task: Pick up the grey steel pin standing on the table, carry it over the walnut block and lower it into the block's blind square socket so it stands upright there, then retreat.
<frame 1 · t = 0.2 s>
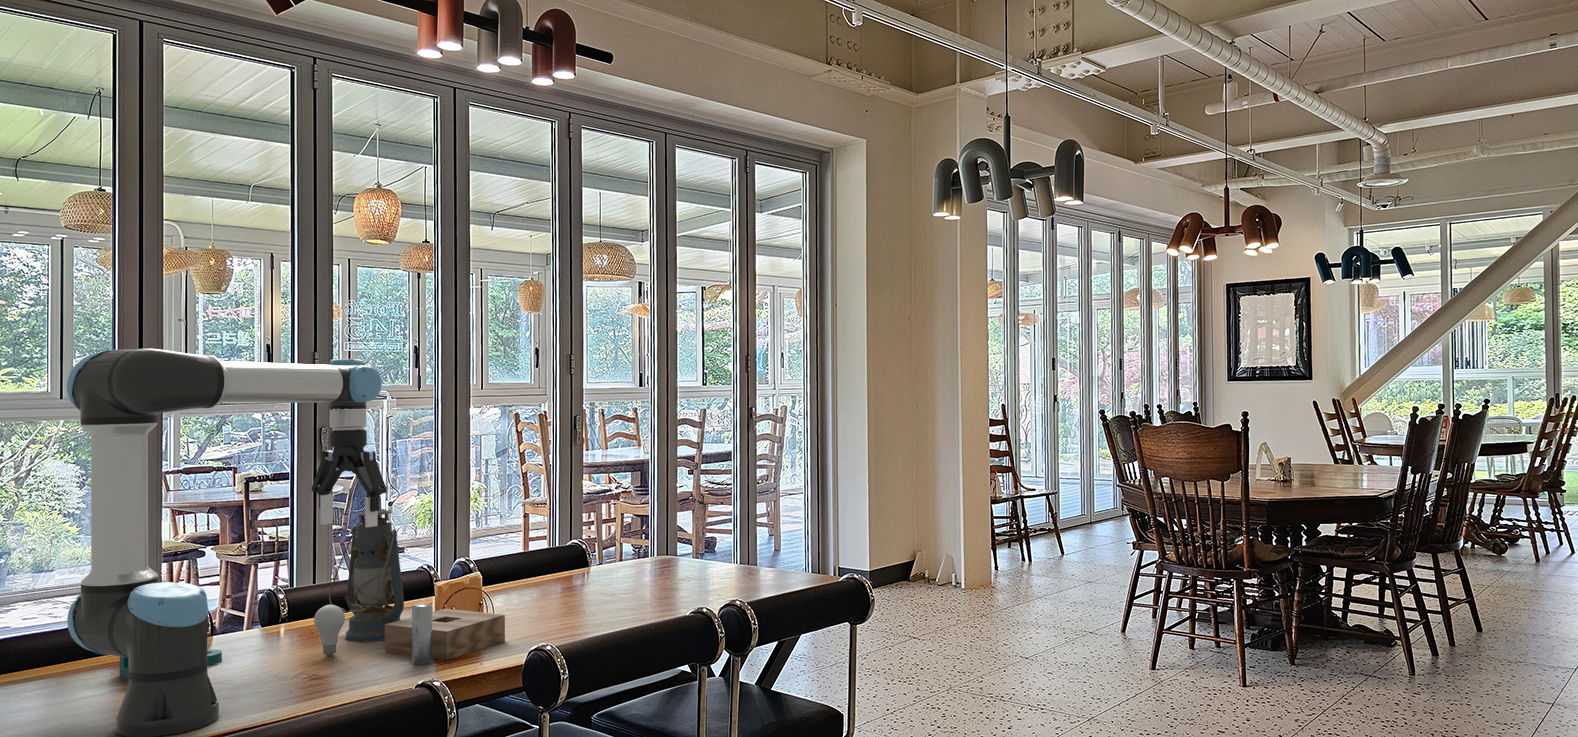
hand: (348, 525, 229), 28 cm above the table, fingers open, 13 cm apart
lantern: (372, 637, 243), on the table
bracket: (174, 670, 216), on the table
pin: (422, 663, 217), on the table
lightbulb: (329, 657, 225), on the table
walnut block: (445, 646, 232), on the table
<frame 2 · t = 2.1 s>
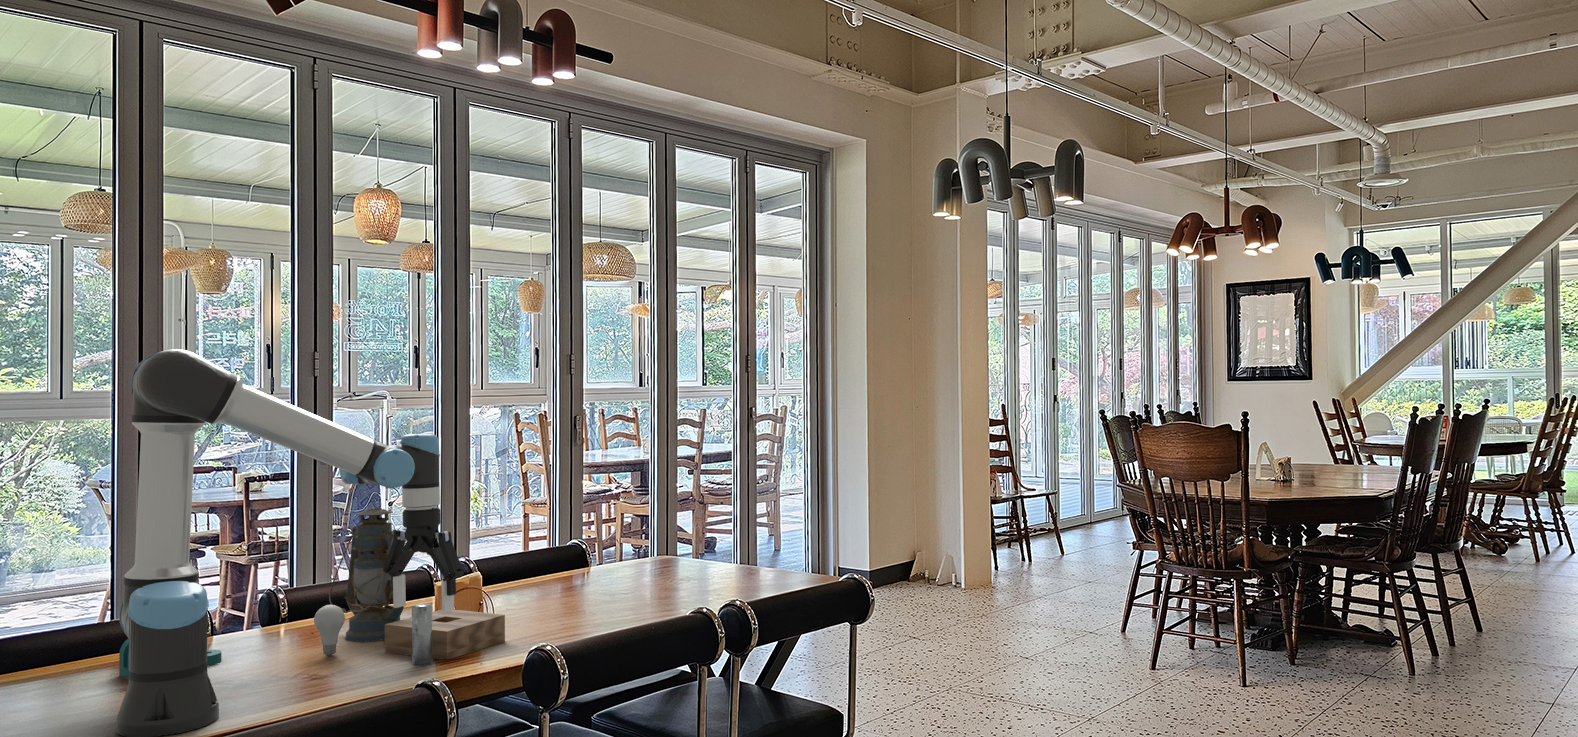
hand: (423, 609, 218), 11 cm above the table, fingers open, 13 cm apart
nothing on the table moved.
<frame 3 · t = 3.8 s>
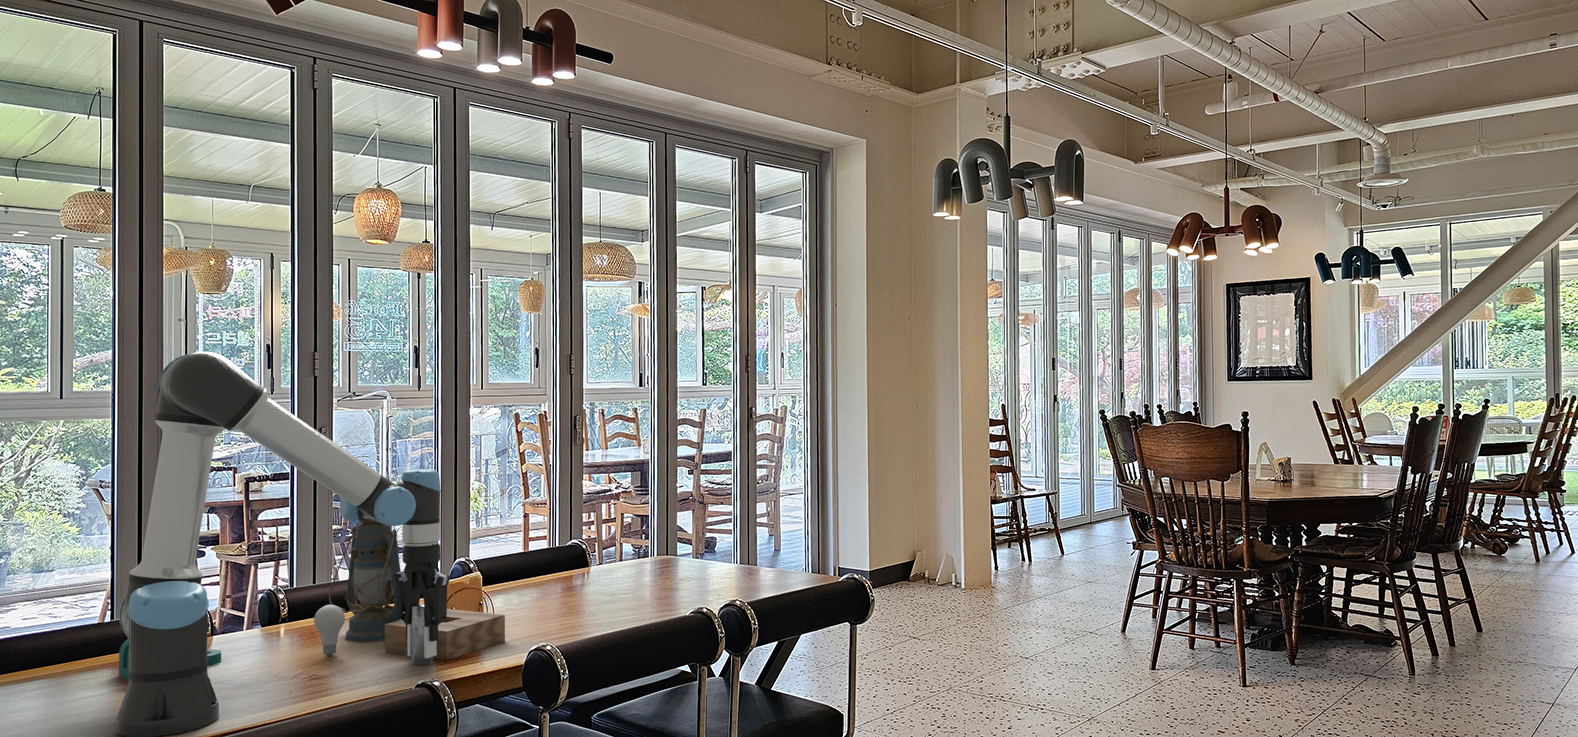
hand: (422, 655, 218), 2 cm above the table, fingers closed on pin, 4 cm apart
pin: (422, 663, 217), on the table, touching gripper
everything else where it was.
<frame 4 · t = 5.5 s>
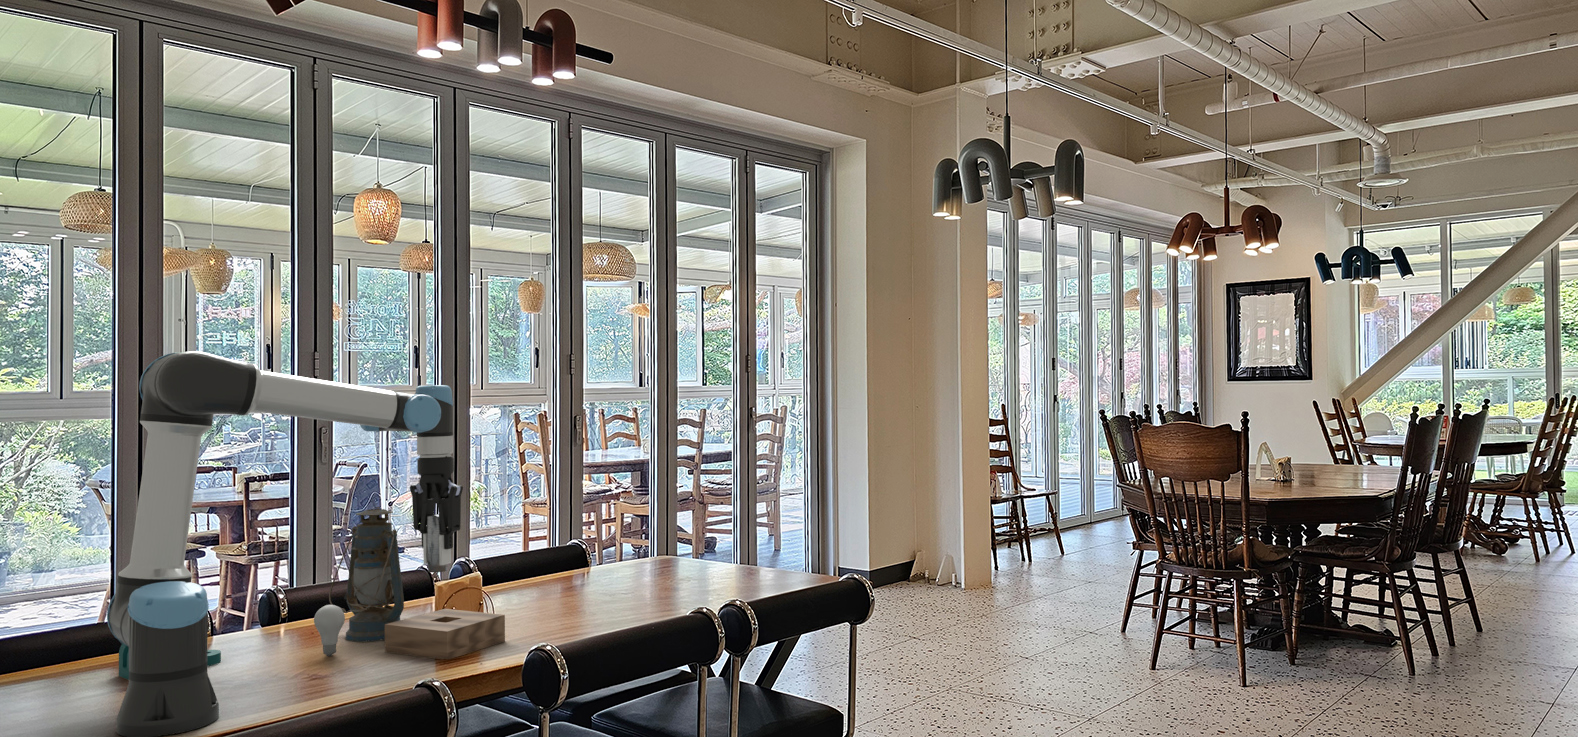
hand: (437, 563, 226), 19 cm above the table, fingers closed on pin, 4 cm apart
pin: (437, 570, 226), point 18 cm above the table, touching gripper
everything else where it was.
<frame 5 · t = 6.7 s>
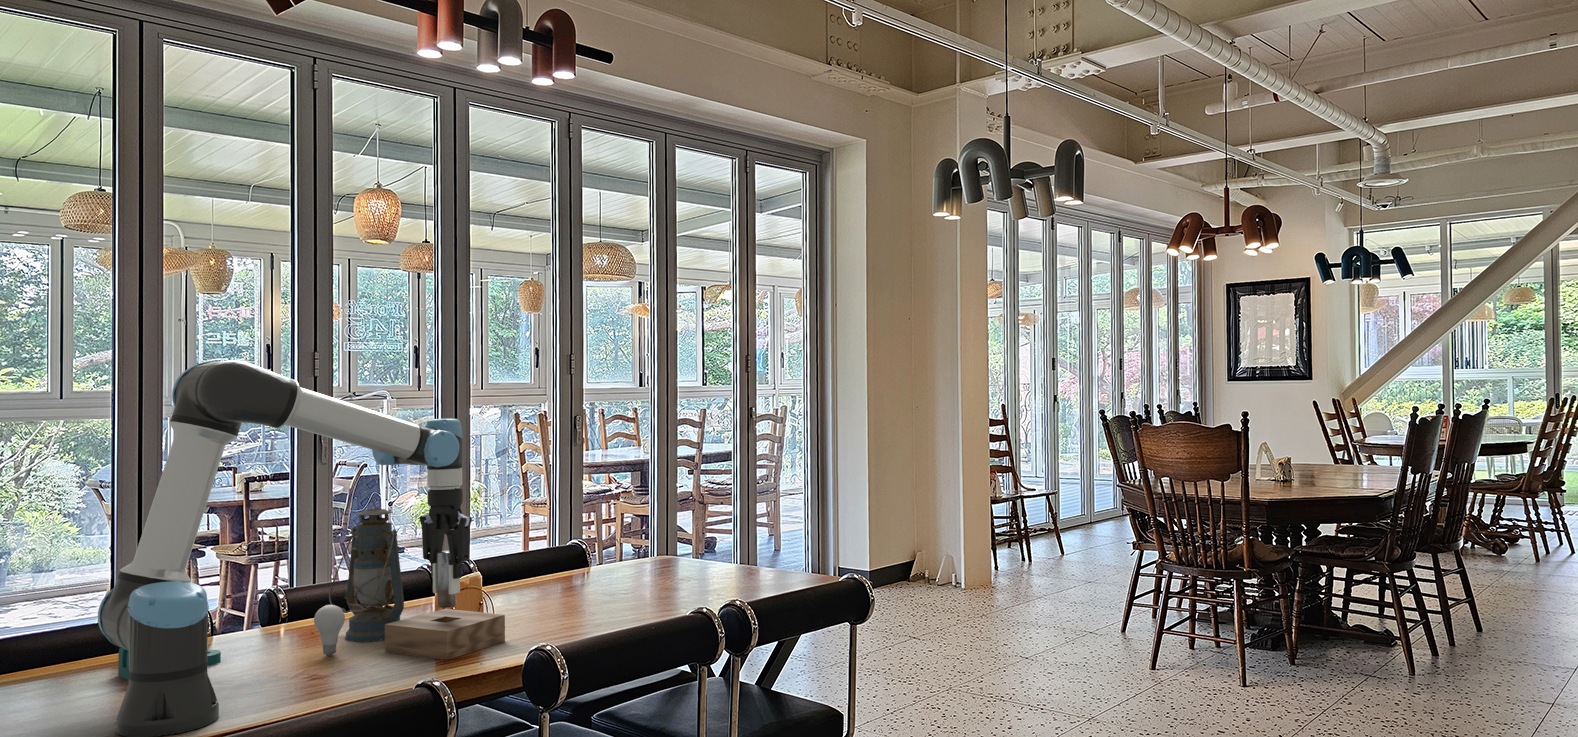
hand: (446, 592, 232), 12 cm above the table, fingers closed on pin, 4 cm apart
pin: (446, 605, 232), point 9 cm above the table, touching gripper
everything else where it was.
when the fingers open (7 cm above the table, at t = 7.7 s): pin drops 3 cm, resting on walnut block.
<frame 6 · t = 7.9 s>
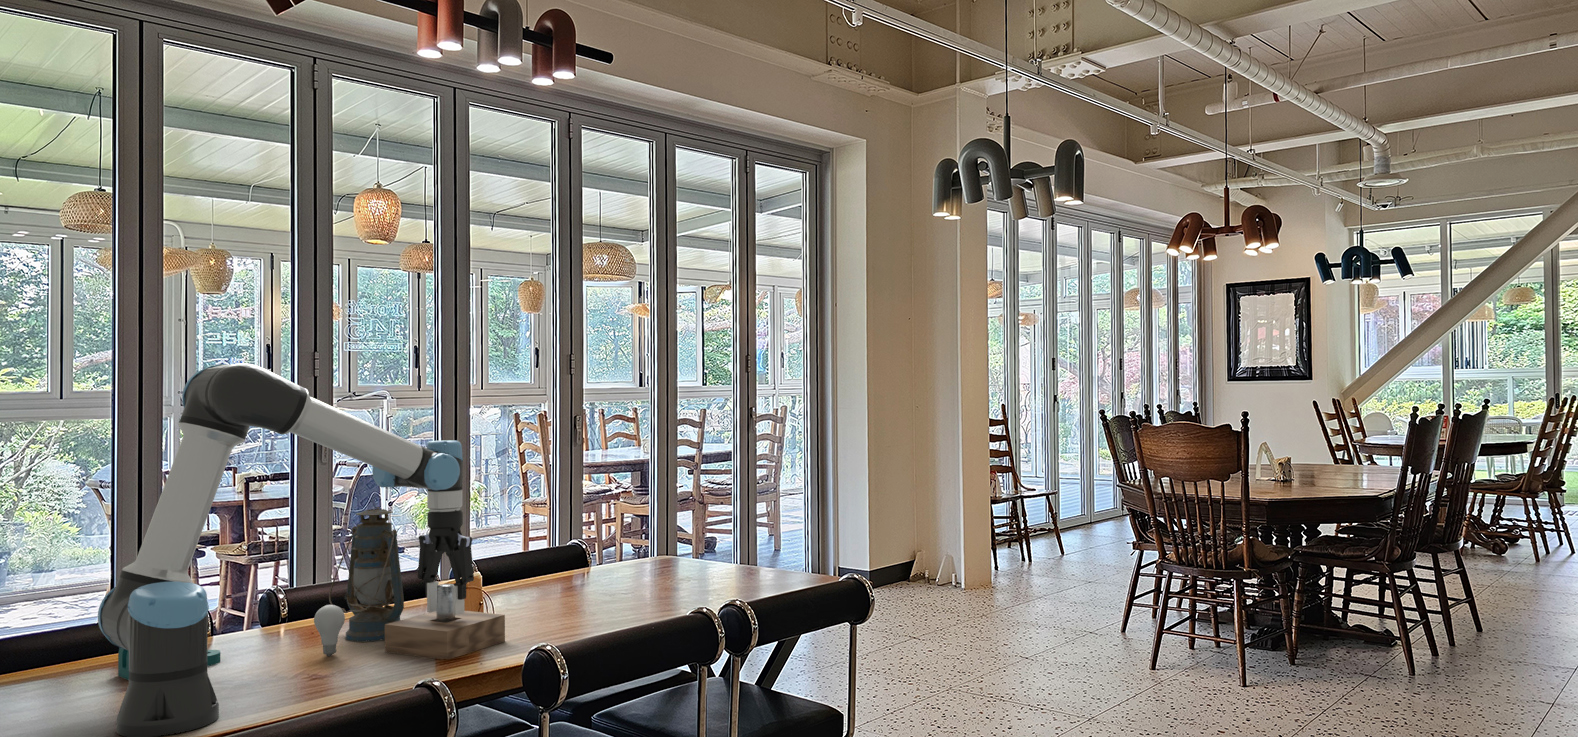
hand: (445, 612, 232), 8 cm above the table, fingers open, 7 cm apart
pin: (445, 639, 232), point 2 cm above the table, touching walnut block
everything else where it was.
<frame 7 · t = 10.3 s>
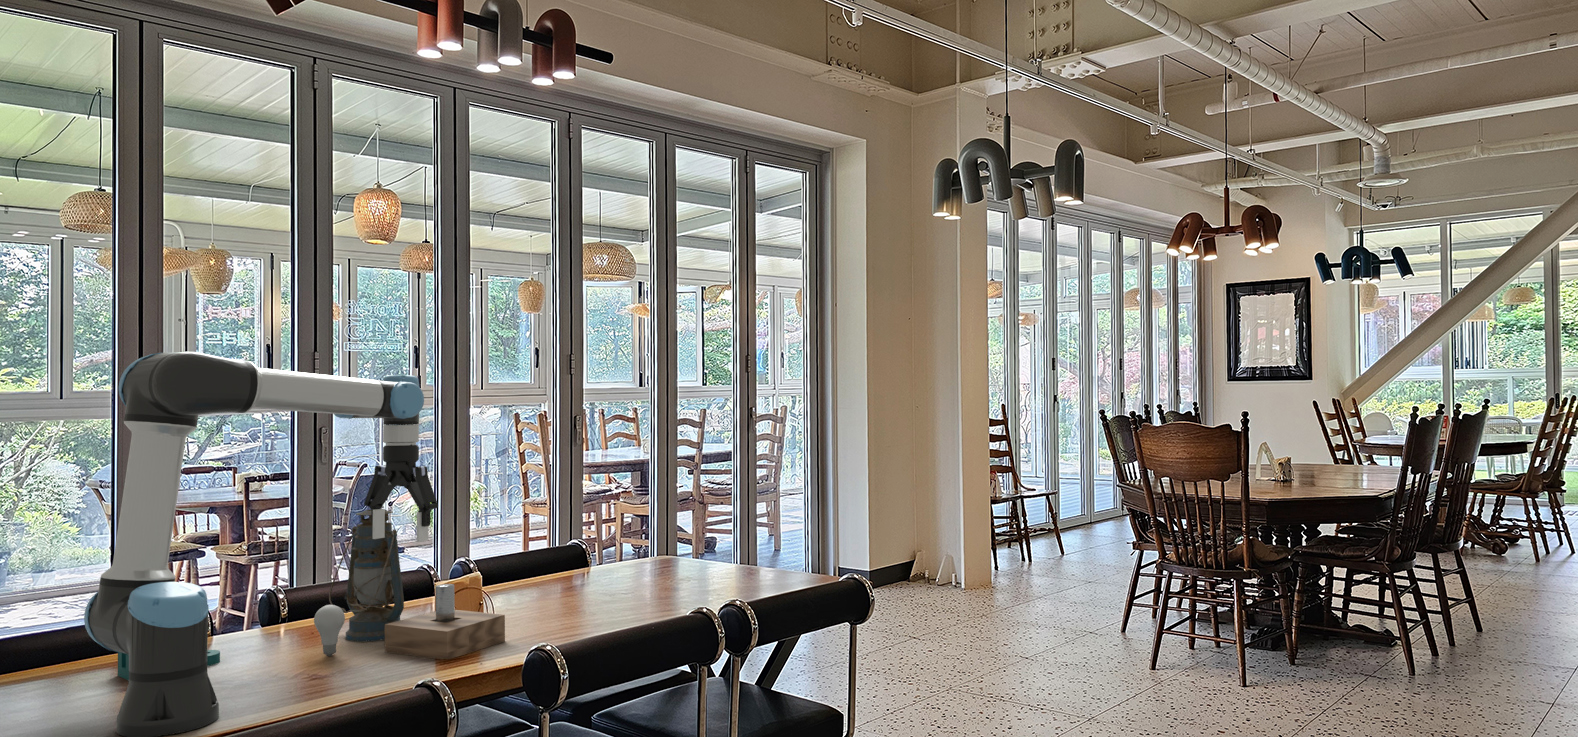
hand: (400, 540, 231), 24 cm above the table, fingers open, 13 cm apart
nothing on the table moved.
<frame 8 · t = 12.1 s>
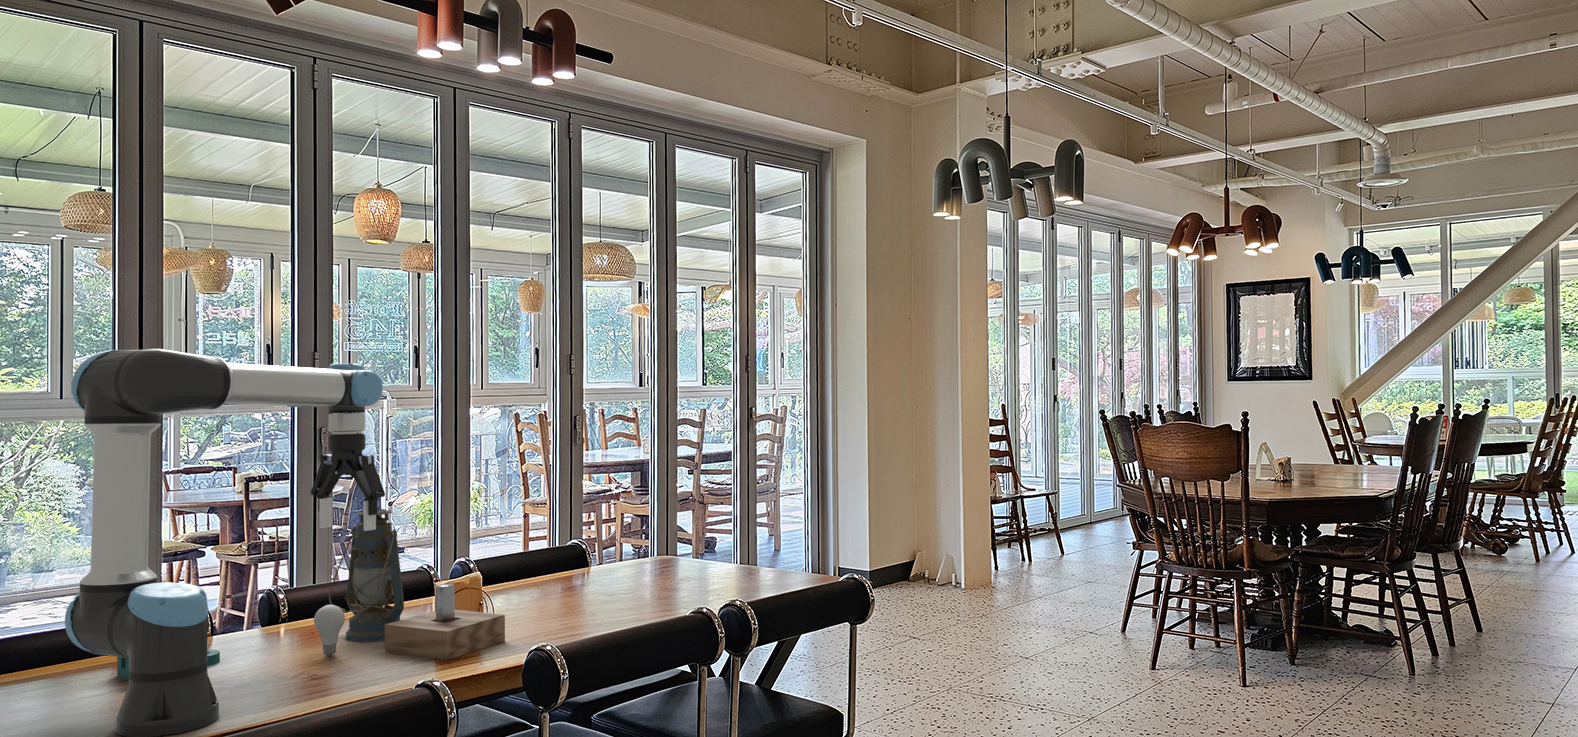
hand: (347, 528, 230), 27 cm above the table, fingers open, 13 cm apart
nothing on the table moved.
at the end: pin 0.1 cm off-centre on the walnut block, point 1.5 cm above the walnut block's base; pin tilted 0°; the gripper is holding nothing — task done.
